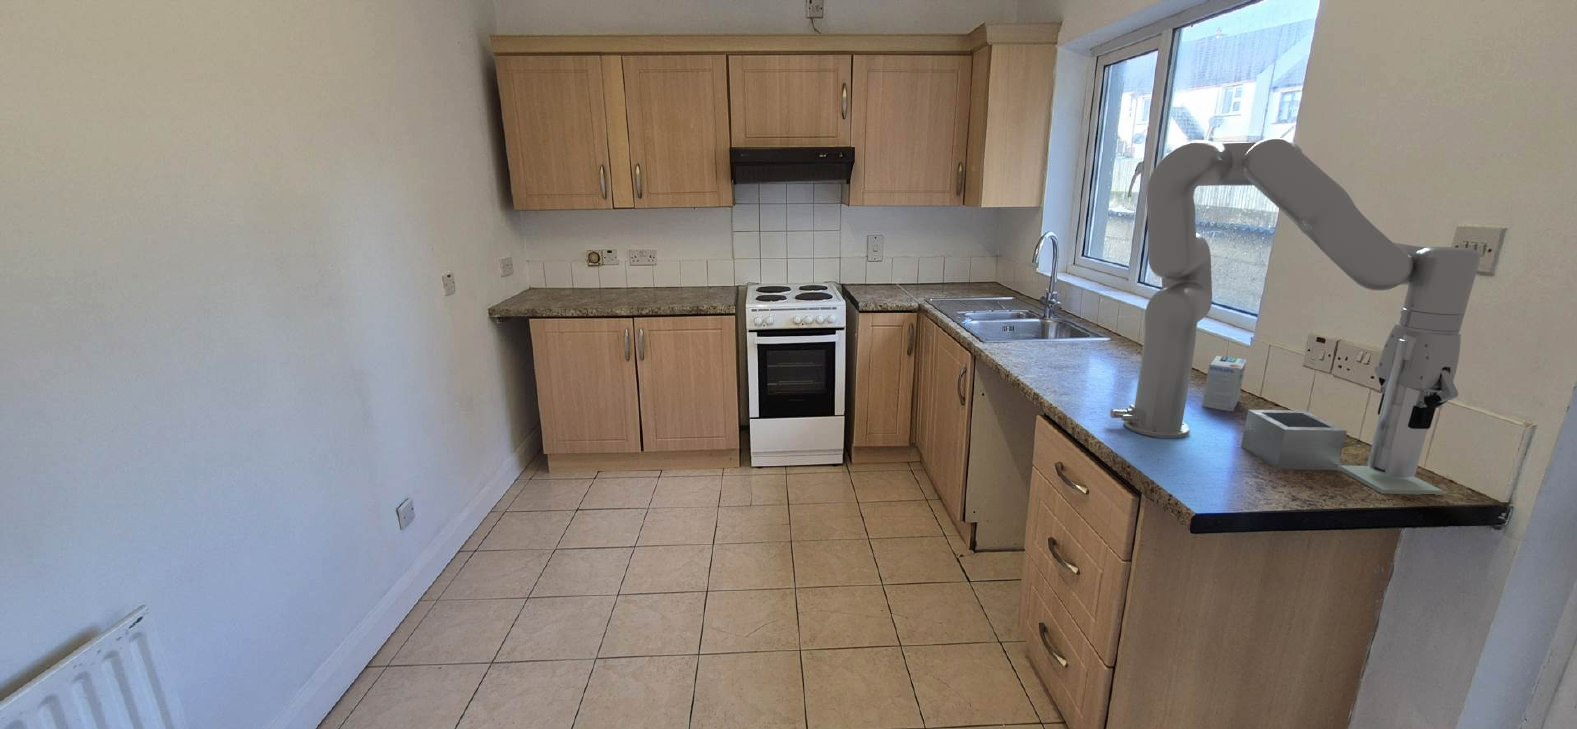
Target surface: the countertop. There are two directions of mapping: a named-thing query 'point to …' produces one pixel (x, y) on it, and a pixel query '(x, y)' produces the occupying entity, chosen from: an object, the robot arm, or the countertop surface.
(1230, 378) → the light bulb box
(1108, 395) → the countertop surface
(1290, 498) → the countertop surface
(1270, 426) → the housing
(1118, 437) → the countertop surface
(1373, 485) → the mat
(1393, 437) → the silver tall cylinder
